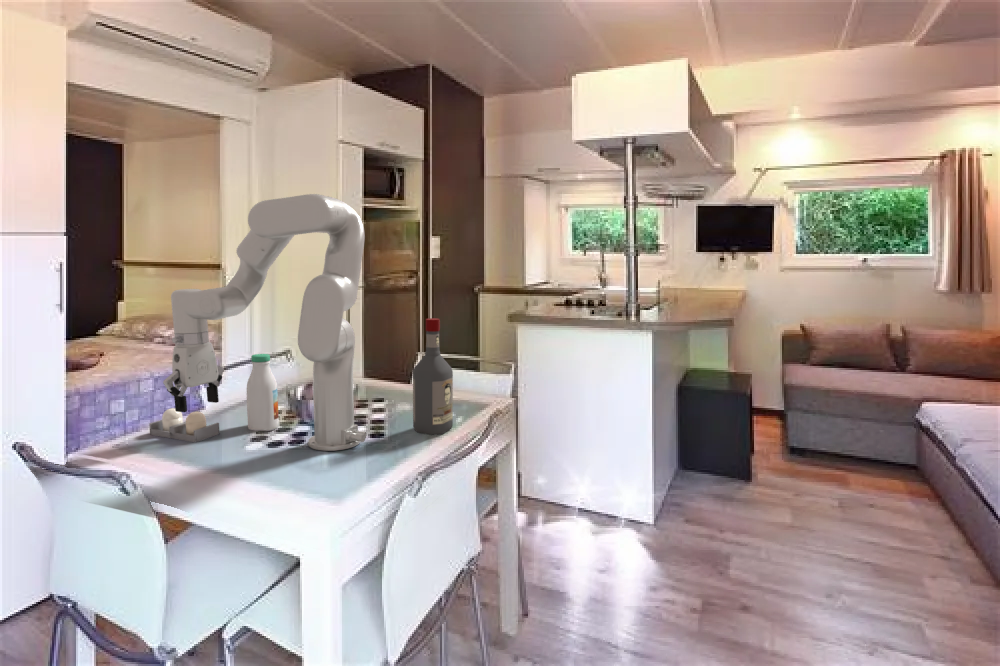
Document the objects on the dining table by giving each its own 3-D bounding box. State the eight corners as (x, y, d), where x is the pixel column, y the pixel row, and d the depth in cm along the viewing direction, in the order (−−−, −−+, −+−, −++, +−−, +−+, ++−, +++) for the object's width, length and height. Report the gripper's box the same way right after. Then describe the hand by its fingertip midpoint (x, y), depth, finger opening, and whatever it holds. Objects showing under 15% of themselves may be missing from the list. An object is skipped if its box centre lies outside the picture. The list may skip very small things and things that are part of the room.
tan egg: (210, 434, 155) (209, 410, 154) (196, 439, 151) (195, 414, 150) (197, 432, 157) (196, 408, 156) (182, 437, 153) (181, 412, 152)
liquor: (409, 431, 162) (408, 319, 158) (427, 423, 170) (427, 316, 166) (438, 436, 158) (438, 322, 154) (456, 427, 166) (456, 318, 162)
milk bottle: (268, 433, 159) (265, 358, 156) (241, 431, 160) (238, 356, 158) (284, 425, 166) (281, 353, 164) (259, 423, 168) (256, 351, 165)
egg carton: (219, 436, 156) (219, 422, 156) (195, 444, 149) (195, 430, 149) (175, 428, 162) (174, 416, 161) (150, 436, 155) (149, 423, 154)
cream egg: (187, 430, 158) (186, 407, 157) (172, 435, 154) (170, 411, 153) (174, 428, 160) (172, 405, 159) (158, 433, 155) (157, 409, 155)
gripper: (173, 345, 141) (179, 417, 143) (230, 335, 157) (235, 399, 159) (149, 343, 144) (156, 414, 146) (208, 334, 160) (213, 397, 162)
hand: (197, 406), depth 153 cm, fingers open, 9 cm apart
